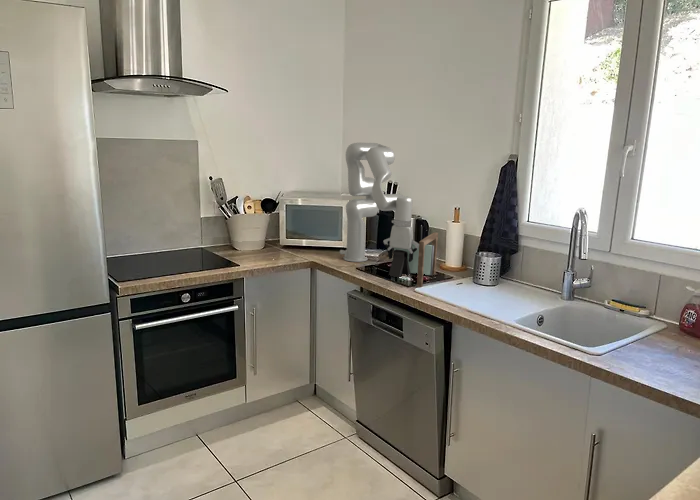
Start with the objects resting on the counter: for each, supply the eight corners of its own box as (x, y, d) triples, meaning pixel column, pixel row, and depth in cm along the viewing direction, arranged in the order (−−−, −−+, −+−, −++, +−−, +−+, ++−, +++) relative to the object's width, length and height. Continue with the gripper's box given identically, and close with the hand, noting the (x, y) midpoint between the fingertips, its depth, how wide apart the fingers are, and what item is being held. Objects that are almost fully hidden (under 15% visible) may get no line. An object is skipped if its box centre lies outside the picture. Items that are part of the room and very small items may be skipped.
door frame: (416, 286, 230) (419, 241, 226) (431, 273, 253) (434, 232, 249) (421, 287, 230) (423, 241, 225) (435, 274, 253) (438, 232, 248)
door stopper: (398, 278, 243) (399, 252, 240) (388, 275, 247) (389, 250, 244) (410, 275, 249) (411, 250, 247) (400, 272, 253) (401, 248, 251)
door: (432, 274, 249) (434, 245, 246) (431, 275, 248) (433, 246, 245) (394, 269, 256) (395, 241, 254) (393, 270, 255) (394, 241, 252)
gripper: (382, 222, 243) (380, 259, 247) (418, 227, 236) (416, 264, 240) (387, 220, 250) (385, 255, 253) (423, 224, 243) (420, 260, 247)
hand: (400, 259), depth 247 cm, fingers open, 9 cm apart
